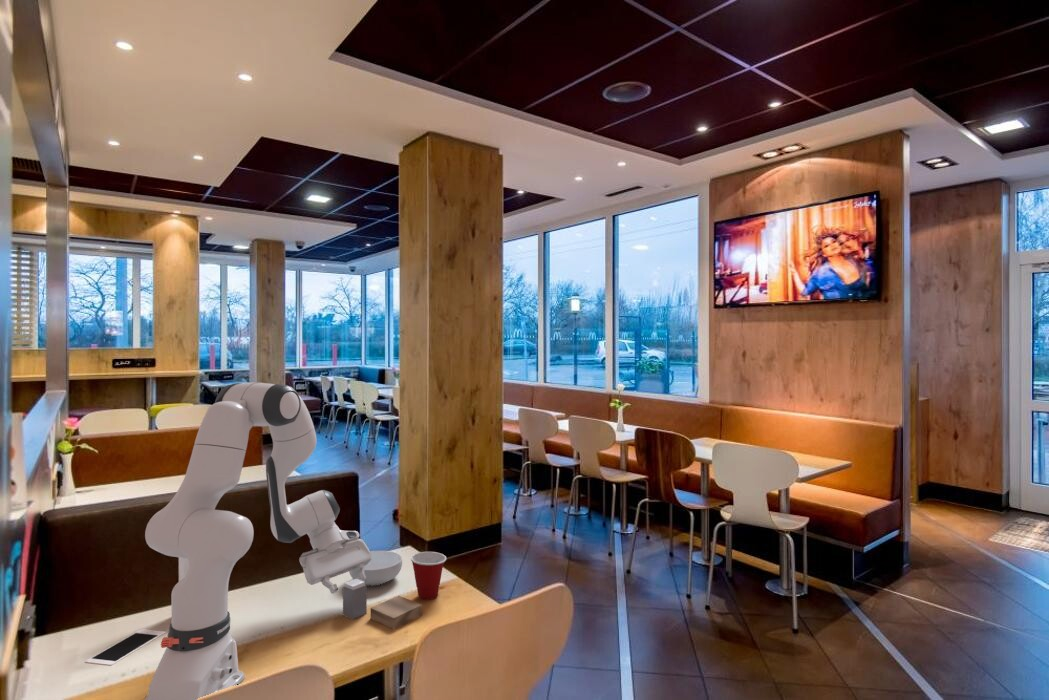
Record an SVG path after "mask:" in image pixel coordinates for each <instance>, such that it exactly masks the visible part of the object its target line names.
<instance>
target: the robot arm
mask: <svg viewBox="0 0 1049 700" xmlns="http://www.w3.org/2000/svg"><path fill="white" fill-rule="evenodd" d="M216 395H217V396H216V397H215V401H214V403H213V404H211V405H210V406H209V407H208V408H207V410H206V413H205V414H204V417H203V418H202V420H201V423H200V426H199V428H198V431H197V434H196V437H195V440H194V445H193V448H192V451H191V455H190V459H189V463H188V465H187V469H186V472H185V476H184V478H183V480H182V482H181V484H180V486H179V488H178V490H177V491H176V493H175V494H174V496H173V498H171V500H170V501H169V502H168V504H166V506H164V507H163V508H162V509H160V510H159V511H157V512H156V513H154V515H152V517H151V518H150V519H149V521H148V522H147V524H146V528H145V531H144V533H145V534H144V538H145V542H146V545H148V547H149V548H150V549H152V550H154V551H156V552H157V553H160V554H162V555H165V556H168V557H172V558H173V557H175V558H179V557H180V558H187V559H188V561H189V569H188V573H187V576H186V577H185V578H183V579H182V580H180V581H179V580H178V582H177V583H176V584H175V585H174V586H173V588H172V591H171V595H170V596H171V598H170V599H171V600H170V601H171V622H170V624H169V628H168V631H167V635H166V637H165V636H164V637H163V638H161V641H160V648H163V649H164V648H166V649H165V651H164V653H163V655H162V657H161V658H160V661H159V663H158V666H157V667H156V670H155V672H154V674H153V676H152V679H151V681H150V683H149V685H148V686H149V687H148V693H147V695H146V697H145V698H144V700H197V699H198V698H200V697H203V696H206V695H209V694H211V693H214V692H217V691H219V690H222V689H225V688H228V687H231V686H234V685H237V684H238V685H239V684H240V683H242V682H243V681H244V680H245V678H246V677H245V673H244V672H243V671H242V670H240V669H239V661H238V657H239V656H238V649H237V642H236V641H235V639H234V638H233V637H232V635H231V633H230V629H231V616H230V615H231V614H230V611H229V610H228V609H229V606H228V605H229V602H228V601H229V599H228V597H229V582H230V577H231V575H232V574H231V573H232V571H233V568H234V566H235V565H236V563H237V562H238V561H239V560H240V559H241V558H243V557H244V556H245V554H246V553H247V552H248V551H249V550H250V548H251V546H252V543H253V541H254V534H255V533H254V531H255V530H254V526H253V523H252V522H251V520H250V519H249V518H248V517H247V516H244V515H241V514H238V513H236V512H235V511H234V512H233V511H231V510H230V511H229V510H223V509H222V510H220V509H216V508H217V505H218V503H219V501H220V500H221V498H222V497H223V496H224V495H225V494H226V493H227V492H228V491H231V490H233V489H234V488H235V487H236V486H237V485H238V484H239V482H240V478H241V475H242V473H241V472H242V470H243V466H244V462H245V456H246V452H247V448H248V442H249V435H250V431H251V429H252V428H253V427H268V430H269V433H270V436H271V439H272V452H271V454H270V456H269V457H268V458H267V459H266V463H265V464H266V465H265V474H266V475H265V476H266V485H267V494H268V503H269V509H270V510H269V514H270V515H269V516H270V517H269V518H270V521H269V522H270V530H271V533H272V535H273V536H274V538H275V539H276V541H278V542H281V543H287V544H288V543H289V544H291V543H293V542H294V541H296V540H298V539H300V538H301V537H303V536H305V535H307V536H308V538H309V543H310V545H311V547H312V549H311V550H310V551H309V550H308V551H305V552H303V553H302V554H301V555H300V557H299V559H298V560H299V563H300V566H301V568H302V570H303V574H304V577H305V580H306V582H307V584H309V585H311V586H313V585H316V584H319V583H321V584H322V585H323V586H324V587H325V588H327V589H328V590H329V591H330V594H334V593H337V592H338V590H339V587H338V584H337V583H332V582H331V581H330V580H331V579H333V578H335V577H337V576H340V575H344V574H345V573H348V572H349V571H351V570H354V569H357V571H360V575H359V576H358V579H359V580H361V581H365V580H366V576H365V574H364V571H365V565H367V564H368V563H369V562H370V560H371V558H372V555H371V551H370V549H369V547H368V546H367V544H366V543H365V541H364V540H363V539H361V538H360V533H359V532H358V530H357V531H356V530H342V529H340V528H339V526H338V525H337V524H336V522H335V521H336V520H337V518H338V515H339V514H340V510H341V508H340V505H339V503H338V502H337V500H336V498H335V496H334V494H333V492H330V491H329V490H325V489H321V490H318V491H316V492H313V493H310V494H307V495H305V496H303V497H302V498H301V499H299V500H296V501H294V502H292V503H290V504H289V503H288V502H287V496H286V488H285V487H286V486H285V485H286V484H285V483H287V482H286V481H287V479H288V478H289V476H290V475H291V474H292V473H293V472H294V471H295V470H296V469H298V467H299V466H301V465H302V464H303V463H305V462H306V461H307V460H308V459H309V458H310V456H312V454H313V453H314V451H315V450H316V447H317V442H318V440H317V433H316V430H315V429H316V428H315V425H314V422H313V420H312V417H311V414H310V411H309V409H308V408H307V405H306V403H305V402H304V400H303V398H302V397H301V396H300V395H299V393H298V392H297V390H295V388H293V387H292V386H289V385H287V384H282V383H276V384H274V383H270V382H269V383H267V382H260V381H256V382H254V381H253V382H244V383H243V382H235V383H230V384H228V385H226V386H224V387H223V388H222V389H220V391H219V393H218V394H216ZM287 503H288V504H287ZM238 685H237V686H238Z"/></svg>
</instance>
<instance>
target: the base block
mask: <svg viewBox="0 0 1049 700" xmlns="http://www.w3.org/2000/svg"><path fill="white" fill-rule="evenodd" d="M369 609H370V619H371V620H372V621H374V622H377V623H379V624H381V625H384V626H386V627H388V628H389V629H392V630H395V629H397V628H399V627H402V626H403V625H405V624H408V623H410V622H412V621H413V620H416V619H418V618H419V617H422V616H423V604H421V603H419V602H417V601H414V600H411V599H409V598H406V597H405V596H401V595H396V596H395V597H392V598H390V599H388V600H386V601H383V602H380V603H378V604H376V605H374V606H372V607H370V608H369Z"/></svg>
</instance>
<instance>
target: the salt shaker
mask: <svg viewBox="0 0 1049 700" xmlns="http://www.w3.org/2000/svg"><path fill="white" fill-rule="evenodd" d="M367 590H368V589H367V585H365V582H364V581H361V580H359V579H351V580H349V581H346V582H344V583H343V586H342V615H343V614H344V615H345V616H344V615H343V616H344V617H346V616H347V617H346V618H348V617H349V619H350V618H351V619H350V620H352V619H353V620H355V618H356V619H357V617H358V618H360V617H362V616H365V615H366V614H367V612H368V611H367V605H368V603H367V599H368V598H367V596H368V595H367ZM364 614H365V615H364Z"/></svg>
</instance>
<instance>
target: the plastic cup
mask: <svg viewBox="0 0 1049 700" xmlns="http://www.w3.org/2000/svg"><path fill="white" fill-rule="evenodd" d="M410 561H411V564H412V566H413V567H412V568H413V573H414V580H415V585H416V590H417V595H418V598H419V599H420V600H423V601H424V600H425V601H427V600H429V601H430V600H433V599H435V598H437V597H438V596H439V595H438V594H439V589H440V585H441V578H442V575H443V574H442V571H443V568H444V565H445V562H446V561H447V556H446V555H444V554H443V553H440V552H436V551H420V552H417V553H413V554H412V555H411V556H410Z"/></svg>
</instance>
